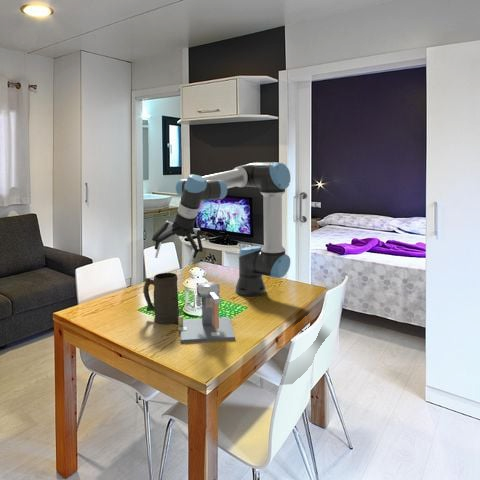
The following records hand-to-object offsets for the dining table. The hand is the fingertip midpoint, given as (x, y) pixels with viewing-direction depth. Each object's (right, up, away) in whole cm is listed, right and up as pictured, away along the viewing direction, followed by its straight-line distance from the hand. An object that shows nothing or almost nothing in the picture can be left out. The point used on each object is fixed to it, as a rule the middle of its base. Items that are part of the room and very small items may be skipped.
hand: (172, 259), depth 167 cm
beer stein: (-6, -25, +6) cm, 27 cm away
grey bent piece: (+16, -23, -6) cm, 29 cm away
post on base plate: (+14, -27, -5) cm, 31 cm away
